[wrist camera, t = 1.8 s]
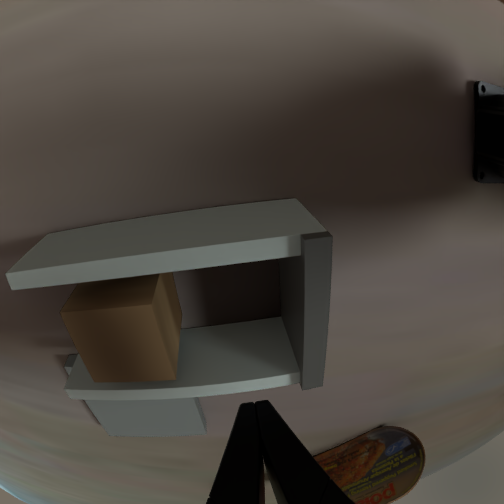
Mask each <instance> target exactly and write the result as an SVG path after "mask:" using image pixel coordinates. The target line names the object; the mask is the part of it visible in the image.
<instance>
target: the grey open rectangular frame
mask: <svg viewBox="0 0 504 504" xmlns="http://www.w3.org/2000/svg"><path fill="white" fill-rule="evenodd" d="M332 238H333V236H332V235H331V234H330V233H329V232H328V231H327V230H326V229H325V228H324V227H323V226H322V225H321V224H320V223H319V222H318V221H317V219H316V218H315V217H314V216H313V215H312V214H311V213H310V212H309V211H308V210H307V209H306V208H305V207H304V206H303V205H302V204H301V203H300V202H299V201H298V200H297V199H296V198H292V199H282V200H272V201H263V202H254V203H245V204H237V205H228V206H220V207H212V208H204V209H197V210H189V211H182V212H175V213H168V214H161V215H154V216H148V217H141V218H135V219H128V220H122V221H116V222H110V223H104V224H98V225H93V226H87V227H82V228H76V229H71V230H65V231H60V232H55V233H50V234H47V235H46V236H45V237H44V238H43V239H41V240H40V241H39V242H38V243H37V244H36V245H35V246H34V247H33V248H31V249H30V250H29V251H28V252H27V253H26V254H25V255H24V256H23V257H22V258H21V259H20V260H19V261H18V262H17V263H15V264H14V265H13V266H12V267H11V268H10V269H9V270H8V271H7V272H6V273H5V275H6V277H7V280H8V282H9V285H10V287H11V290H20V289H29V288H38V287H47V286H56V285H64V284H73V283H82V282H90V281H99V280H108V279H116V278H124V277H133V276H141V275H149V274H158V273H166V272H174V271H182V270H190V269H198V268H206V267H214V266H222V265H230V264H238V263H245V262H253V261H261V260H269V259H276V258H279V277H280V300H281V316H280V317H274V318H267V319H260V320H253V321H246V322H239V323H231V324H223V325H215V326H206V327H197V328H188V329H181V330H180V340H179V350H178V362H177V374H176V380H165V381H146V382H108V383H95V382H94V381H93V379H92V377H91V375H90V373H89V372H88V370H87V368H86V366H85V364H84V362H83V360H82V358H81V357H80V355H79V353H78V355H77V358H76V360H75V363H74V365H73V367H72V370H71V372H70V375H69V377H68V380H67V382H66V385H65V388H64V390H65V392H66V393H67V395H68V396H69V398H70V399H82V400H157V399H176V398H190V397H202V396H213V395H222V394H231V393H239V392H247V391H254V390H261V389H267V388H274V387H280V386H285V385H291V384H296V383H300V385H301V388H302V390H306V389H311V388H316V387H321V386H323V378H324V368H325V358H326V347H327V335H328V322H329V308H330V291H331V270H332Z"/></svg>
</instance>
